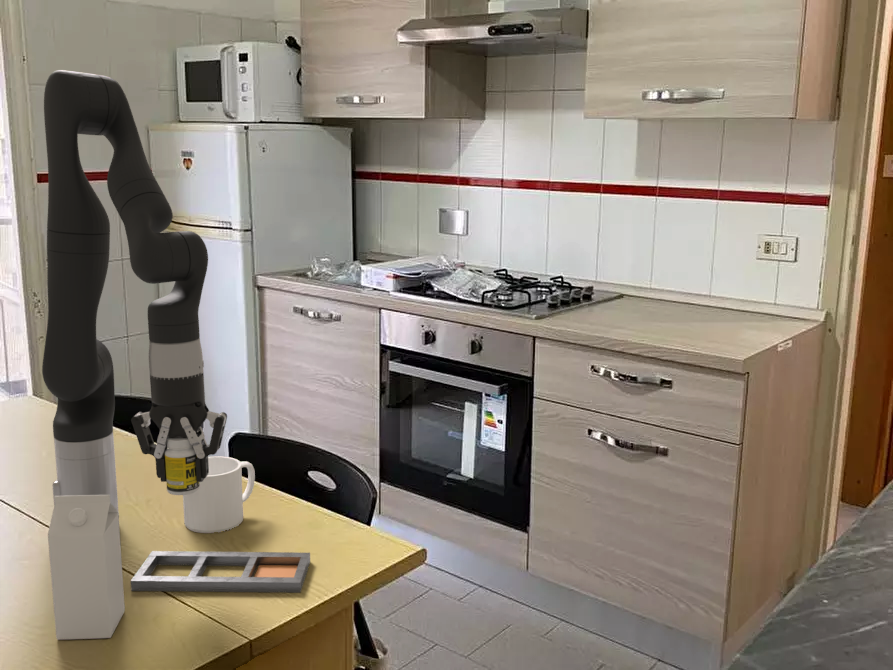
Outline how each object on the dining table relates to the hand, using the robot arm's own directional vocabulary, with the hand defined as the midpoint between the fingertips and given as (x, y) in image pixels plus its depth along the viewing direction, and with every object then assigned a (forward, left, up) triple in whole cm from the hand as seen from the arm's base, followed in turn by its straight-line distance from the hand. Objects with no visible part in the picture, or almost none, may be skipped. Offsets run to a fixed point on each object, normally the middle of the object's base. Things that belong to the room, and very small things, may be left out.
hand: (183, 479), depth 135 cm
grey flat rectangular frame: (+5, 0, -16) cm, 17 cm away
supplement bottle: (0, 0, -2) cm, 2 cm away
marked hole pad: (+13, 0, -16) cm, 21 cm away
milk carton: (-9, -15, -16) cm, 24 cm away
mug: (0, +21, -16) cm, 26 cm away
